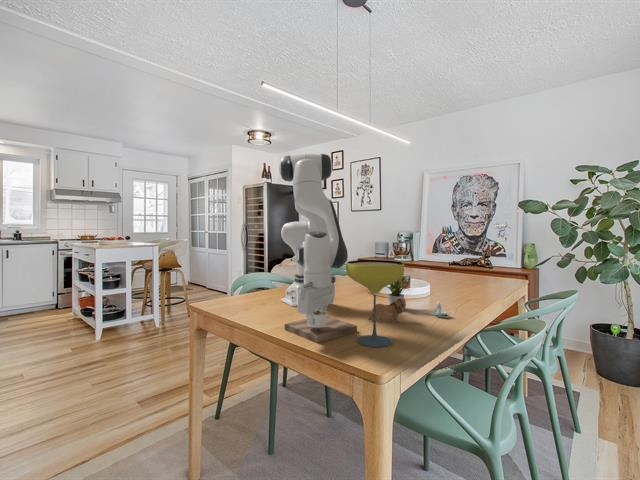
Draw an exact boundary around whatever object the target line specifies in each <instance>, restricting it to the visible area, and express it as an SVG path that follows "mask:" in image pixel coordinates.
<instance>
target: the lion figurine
mask: <svg viewBox="0 0 640 480" xmlns="http://www.w3.org/2000/svg"><path fill="white" fill-rule="evenodd" d="M406 306H407V303H406V298H404V299H403V298H398V299H396V301H395V302H393V303H391V304H390V305H389V304H382V303H376V316H377V317H376V318H377V319H376V320H378V322H379V323H383V320H381V315H382V313H383V314H385V315H391V319H392V321H393V322H395V324H396V323H397V324H398V323H399V320H398V317H399V315H401V314H402V313H403V312H404V311H405V309H406ZM371 320H372V321H374V306H373V307H372V310H371V314H370V317H369V318H368V321H371Z"/></svg>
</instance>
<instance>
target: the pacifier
mask: <svg viewBox="0 0 640 480" xmlns="http://www.w3.org/2000/svg"><path fill="white" fill-rule="evenodd" d="M435 306H436V308H433V310H432V314H434V315H435V316H436V317H437V318H445V319H446V318H447V319H448V318H450V317H451V316H450V315H449V314H448V313H447V312H446V311H444V310H443V309H442V305H441V302H440V301H439V300H438V301H436V304H435Z"/></svg>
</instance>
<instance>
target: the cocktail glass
mask: <svg viewBox="0 0 640 480" xmlns="http://www.w3.org/2000/svg"><path fill="white" fill-rule="evenodd" d="M345 272H346V274H347V276H348V277H349V278H350V279H351V280H353V281H354V282H355V283H358V284H360V285H362V286H364V288H366V289H368V291H369V292H370V294H371V295H373V307H374V312H373V313H374V320H372V323H373V325H372V326H373V327H372V334H365V335H362V336H359V337H358V338H357V342H358V344H360V345H362V346H365V347H369V348H385V347H389V346H390V345H392V343H393V341H392V339H390V338H389V337H387V336H384V335H379V334H377V324H376V323H377V322H376V321H377V319H376V318H377V317H376V316H377V314H376V304H377V303H376V302H377V301H376V299H377V297H376V296H378V294H379V293H380V292H381V291H382V290H383V289H384V288H387V287H389V286H390V284H392V283H394V282H396V281H398V280H399V279H401V278H402V279H403V277H404V275H405V264H404V262H402V261H396V260H385V259H383V260H382V259H359V260H349V261H346V263H345ZM386 286H387V287H386Z"/></svg>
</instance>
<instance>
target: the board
mask: <svg viewBox="0 0 640 480" xmlns="http://www.w3.org/2000/svg"><path fill="white" fill-rule="evenodd" d="M319 310H320V309H318V310H317V311H314V314H319V313H321V311H319ZM284 330H285V331H288V332H290V333H292V334H294V335H297V336H299V337H302V338H304V339H307V340H308V341H311V342H314V343H315V344H319V343H322V342H325V341H328V340H329V341H330V340H333V339H337V338H339V337H343V336H346V335H349V334H353V333H356V332H358V325H356V324H352V323H349V322H347V321H344V320H340V319H336V318H333V317H330V316H327V325H326V326H325V327H320V328H314V327H309V326H308V318H305V319H301V320H297V321H291V322H287V323H284Z"/></svg>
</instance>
